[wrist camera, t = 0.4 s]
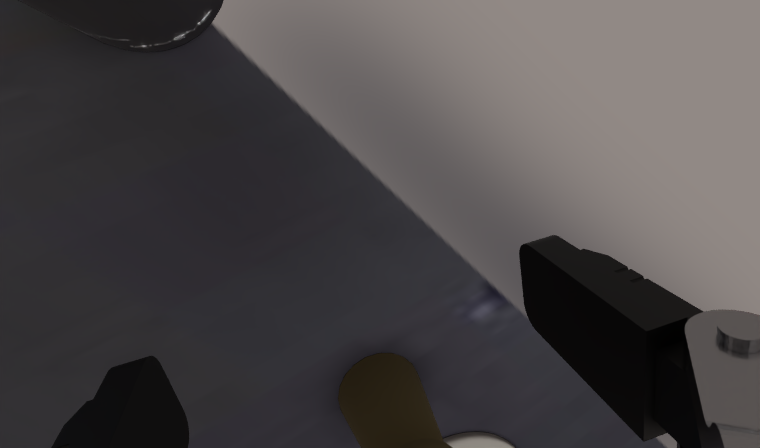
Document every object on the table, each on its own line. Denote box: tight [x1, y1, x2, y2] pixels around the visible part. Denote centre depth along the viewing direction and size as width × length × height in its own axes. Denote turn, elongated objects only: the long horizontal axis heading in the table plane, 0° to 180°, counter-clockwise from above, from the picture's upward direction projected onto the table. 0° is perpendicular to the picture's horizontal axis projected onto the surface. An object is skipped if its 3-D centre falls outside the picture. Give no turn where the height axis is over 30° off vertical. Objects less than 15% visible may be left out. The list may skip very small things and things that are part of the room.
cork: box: [338, 353, 453, 448], centre depth 27 cm, size 6×6×11 cm
